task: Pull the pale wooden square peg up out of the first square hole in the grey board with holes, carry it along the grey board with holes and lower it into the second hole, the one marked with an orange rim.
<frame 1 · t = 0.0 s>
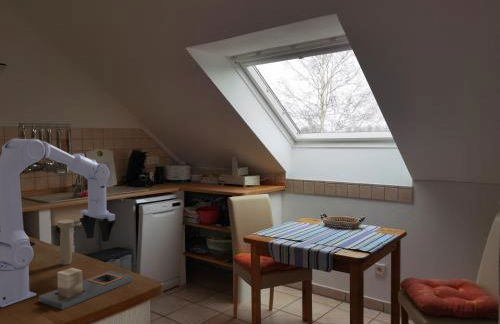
hand: (97, 239, 135), 10 cm above the counter, tool pointing down, fingers open, 7 cm apart
peg: (70, 297, 112), resting in grey board with holes
grey board with holes: (88, 290, 117), on the counter
handle: (66, 264, 141), on the counter
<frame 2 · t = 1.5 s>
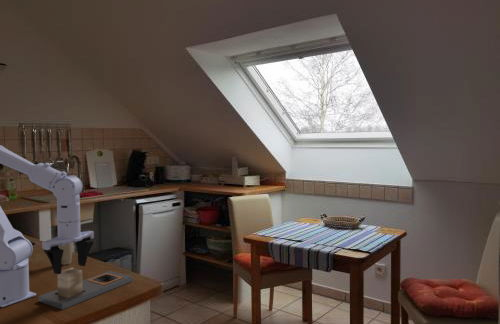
hand: (70, 269, 111), 8 cm above the counter, tool pointing down, fingers open, 7 cm apart
nothing on the counter moved.
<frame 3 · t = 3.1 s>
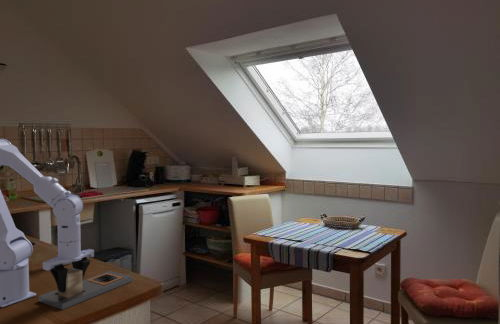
hand: (70, 288, 112), 3 cm above the counter, tool pointing down, fingers closed on peg, 4 cm apart
peg: (70, 297, 112), resting in grey board with holes, touching gripper
everything else where it was.
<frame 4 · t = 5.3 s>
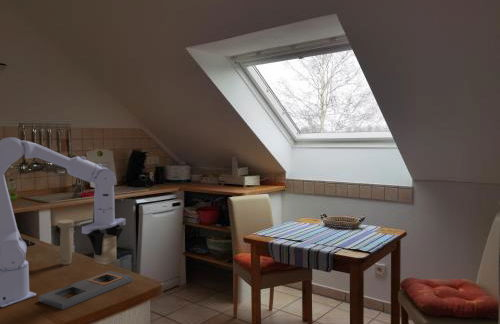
hand: (105, 252, 121), 10 cm above the counter, tool pointing down, fingers closed on peg, 4 cm apart
peg: (105, 261, 122), point 7 cm above the counter, touching gripper
everything else where it was.
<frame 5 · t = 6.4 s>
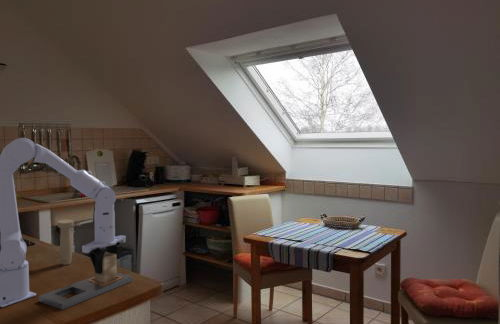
hand: (105, 270, 122), 4 cm above the counter, tool pointing down, fingers closed on peg, 4 cm apart
peg: (105, 279, 122), point 2 cm above the counter, touching gripper
everything else where it was.
when the fingers open (3 cm above the counter, at t = 7.6 s): peg stays where it is, resting in grey board with holes.
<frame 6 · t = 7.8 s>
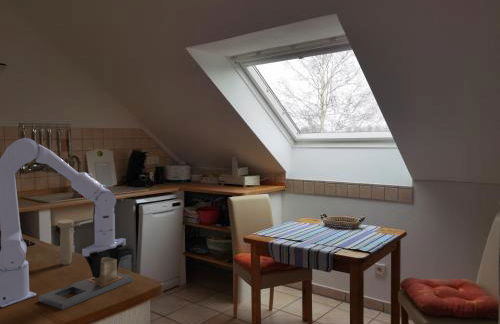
hand: (105, 273, 122), 3 cm above the counter, tool pointing down, fingers open, 6 cm apart
peg: (105, 284, 122), resting in grey board with holes
everything else where it was.
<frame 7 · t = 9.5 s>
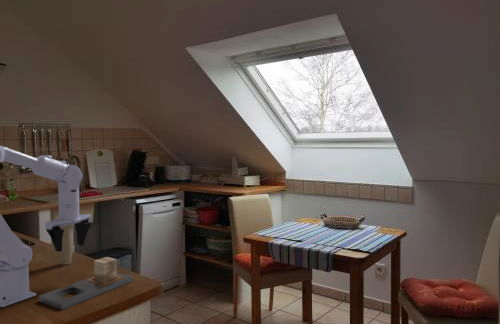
hand: (69, 248, 123), 10 cm above the counter, tool pointing down, fingers open, 7 cm apart
nothing on the counter moved.
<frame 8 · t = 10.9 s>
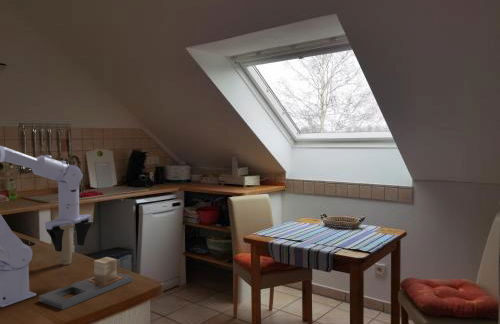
hand: (69, 248, 123), 10 cm above the counter, tool pointing down, fingers open, 7 cm apart
nothing on the counter moved.
at the end: peg 0.1 cm from the target spot on the grey board with holes, point 0.0 cm above the grey board with holes's base; peg tilted 0°; the gripper is holding nothing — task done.
